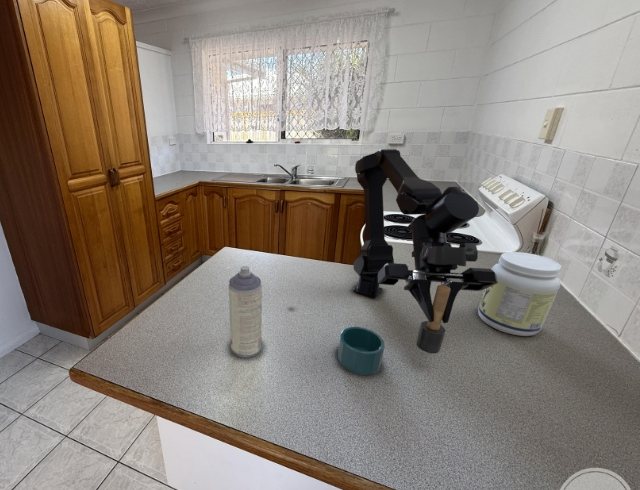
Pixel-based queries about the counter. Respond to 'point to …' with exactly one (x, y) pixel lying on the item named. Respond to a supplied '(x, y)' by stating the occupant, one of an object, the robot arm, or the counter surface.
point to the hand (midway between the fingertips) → (438, 322)
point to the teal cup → (360, 350)
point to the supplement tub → (520, 293)
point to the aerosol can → (245, 313)
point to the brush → (434, 324)
